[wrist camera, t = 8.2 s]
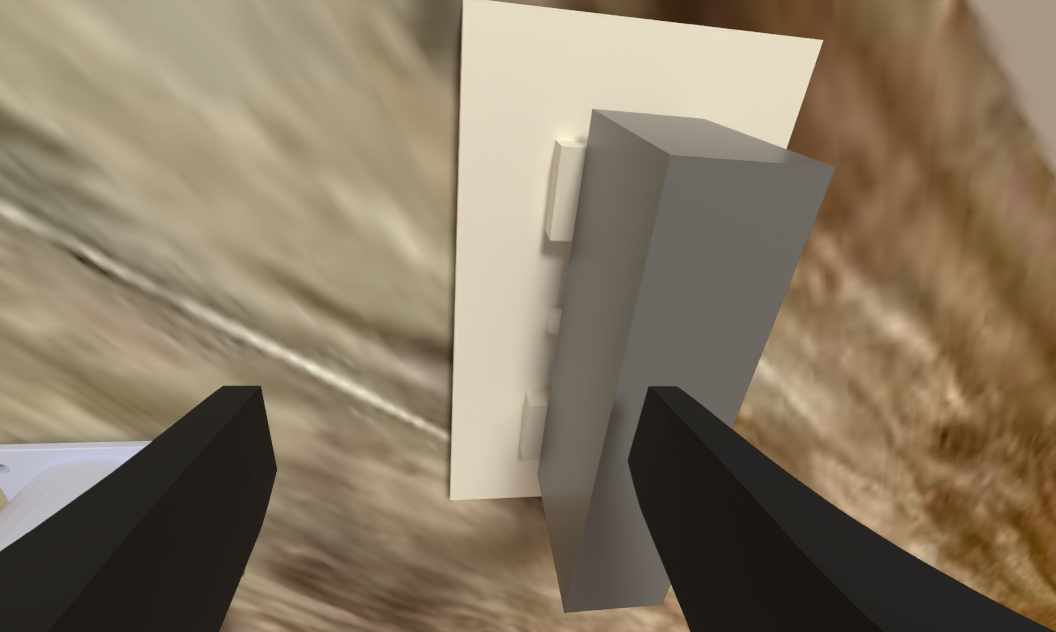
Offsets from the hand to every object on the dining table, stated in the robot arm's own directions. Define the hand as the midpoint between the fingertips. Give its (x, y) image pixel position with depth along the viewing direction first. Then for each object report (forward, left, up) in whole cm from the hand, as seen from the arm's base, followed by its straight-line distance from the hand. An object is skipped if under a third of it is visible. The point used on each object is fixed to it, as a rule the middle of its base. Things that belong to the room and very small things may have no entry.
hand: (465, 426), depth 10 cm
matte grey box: (-3, -6, -8) cm, 10 cm away
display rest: (-3, -5, -10) cm, 12 cm away
